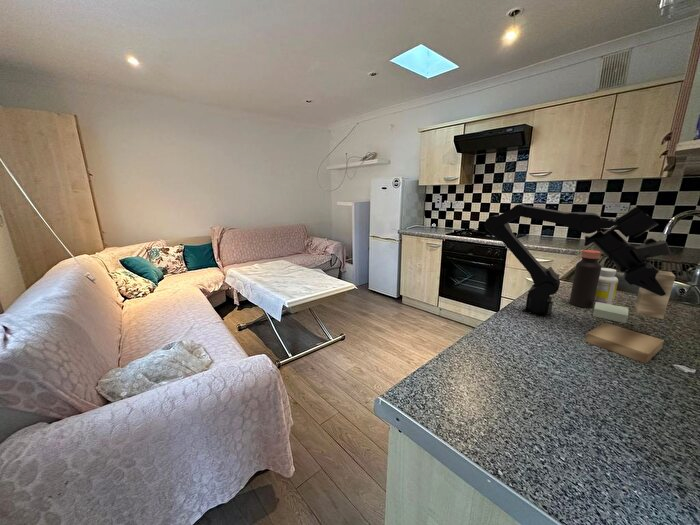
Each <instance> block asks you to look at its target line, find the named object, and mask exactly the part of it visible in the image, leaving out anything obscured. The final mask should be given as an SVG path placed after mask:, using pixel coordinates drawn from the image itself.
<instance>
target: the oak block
mask: <svg viewBox="0 0 700 525" xmlns="http://www.w3.org/2000/svg"><path fill="white" fill-rule="evenodd" d="M584 340H585V343H589V344H591V345H594V346H597V347H599V348H602V349H605V350H608V351H611V352H613V353H616V354H618V355H622V356H624V357H627V358H630V359H633V360H635V361H638V362H641V363H643V364H647V363H648V362H649V361H651V360H652V359H653V358H654V357H655V356H656V355H657V354H658V353H659V352H660V351H661V350H662V349H663V347H664V344H665V343H664V342H665V340H664V339H661V338H658V337H655V336H651V335H648V334H644V333H641V332H639V331H634V330H631V329H628V328H624V327H621V326H618V325H615V324H611V323H608V322H603V323H601V324H600V325H599V326H597V327H594V328H593V329H592V330H590V331H588V332H587V333H586V337H585V339H584ZM652 357H653V358H652Z"/></svg>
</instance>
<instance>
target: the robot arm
mask: <svg viewBox="0 0 700 525" xmlns="http://www.w3.org/2000/svg"><path fill="white" fill-rule="evenodd" d="M520 217H522V218H527V219H533V220H536V221H537V220H538V221H543V222H549V223H554V224H557V225H558V224H559V225H562V226H565V227H567V228H569V229H572V230H574V231H576V232H580V233H581V234H582V233H583V234H591V235H585V236H584V242H583V245H584V246H585V247H588V246H589V245H591V244H592V243H593V244H594V245H595V247H596V248H598V249H599V251H600V252H601V253H603V254H604V255H605V256H606V258H607V259H608V260H609V261H610V262H612V263H613V264H614V265H615V266H616V267H617V268H618V270H619V271H620V272H621V273H623V280H625V281H626V282H627V283H628V285H630V286H633V285H634V286H637V287H639V288H640V287H641V288H644V289H646V290H648V291H651V292H653V293H655V294H657V295H660V296H663V295H666V293H665V292H664V290H663V289H662V287H661V286H660V284H659V283H658V281H657V280H656V278H655V277H656V274H657V273H658V272H659V271H660V270H658V269H657V268H656V267H655V266H654V265H653V264H652V262H651V261H649V259H650V258H654V257H660V256H668V255H671V254H672V252H671V250H670V247H669V244H668V242H667V241H665V240H661V239H659V240H658V241H657V240H655V239H654V238H653V237H651V238H646V239H644V240H643V244H640V245H635V246H634V245H633V244H632V243H629V242H628V241H626V239H625V238H624V237H626V238H631V237H633V239H634V238H637V237H639V236H641V235H642V234H644V233H646V232H648V231H650V230H652V229H653V228H655V227H658V226H659V223H658V222H657V221H656V220H655V219H654V218H653V217H652V216H650V215H649V214H647V213H646V212H644V211H643V210H642V209H641V208H640V207H638V206H634V207H633V208H631V209H630V210H629V211H627V212H626V213H624V214H622V215H620V216H619V217H617V218H615V219H614V218H611V217H609V218H606V217H601V216H600V215H599V214H598V213H596V212H589V211H588V212H583V211H578V212H577V211H576V212H575V211H573V212H572V211H571V212H570V211H568V212H567V211H561V210H556V209H549V208H544V207H543V208H542V207H539V206H537V207H536V206H532V205H527V204H524V203H520V204H516V205H514V206H513V207H512V208H510V209H508V210H506V211H504V212H502V213H501V214H496V215H492V216H489V217H488V218H486V220H485V221H484V228H485V231H487V232H488V233H490V234H491V235H492V236H493V237H495V238H497V239H498V240H499V241H501V242H502V243H503V244H504V245H505V247H507V249H508V250H509V251H510V252H511V253H512V255H513V256H515V258H516V259H517V260H518V262H519V263H520V264H521V265H522V266H523V267H524V268H525V270H526V271H527V272H528V273H529V275H530V277H531V280H532V282H533V284H531V286H530V288H529V289H528V293H527V295H526V302H525V308H522V311H523V312H525V313H528V314H531V315H534V316H537V317H539V318H544V317H546V316H548V315H551V314H552V313H553V311H552V309H553V304H554V302H553V301H552V300H553V297H552V296H553V295H555V294H556V293H557V292H558V291H559V288H560V285H561V280H560V274H557V273H556V272H555V270H554V269H553V267H552V266H549V267H548V268H546V266H545V267H544V265H542V264H541V263H540V262H539V260H537V259H536V258H535V256H534V255H533V254H532V253H531V252H530V250H528V248H527V247H526V246H525V245H524V244H523V242H521V241H520V239H519V238H518V237H517V236H516V235H515V234H514V233H513V230H512V228H511V225H510V224H509V223H510V222H512V221H514V220H515V219H518V218H520ZM605 229H606V230H605ZM616 229H617V230H618V231H619V232H620V233H621V234H622V235H623V236H624V237H622V236H621V235H620V234H619V233H618V232H617V231H616ZM602 230H604V231H602ZM593 233H594V234H593ZM647 261H648V262H647Z"/></svg>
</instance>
